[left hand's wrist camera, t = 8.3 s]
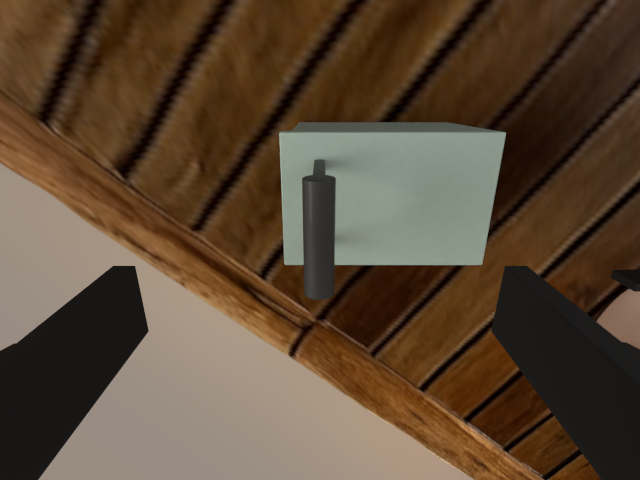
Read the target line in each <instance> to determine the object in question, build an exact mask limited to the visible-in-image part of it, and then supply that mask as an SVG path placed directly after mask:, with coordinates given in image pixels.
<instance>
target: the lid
mask: <svg viewBox="0 0 640 480" xmlns="http://www.w3.org/2000/svg"><path fill="white" fill-rule="evenodd" d="M505 137H506V132H501V131H281V132H280V133H279V139H280V164H281V189H282V214H283V239H284V264H285V265H304V294H305V295H306V296H307V297H308V298H311V299H315V300H323V299H327V298H330V297H331V296H332V295H333V294H334V265H482V263H483V257H484V252H485V246H486V241H487V235H488V230H489V224H490V219H491V213H492V208H493V203H494V197H495V192H496V186H497V181H498V175H499V170H500V164H501V159H502V153H503V148H504V142H505Z"/></svg>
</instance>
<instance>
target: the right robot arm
mask: <svg viewBox="0 0 640 480" xmlns="http://www.w3.org/2000/svg"><path fill="white" fill-rule="evenodd" d="M611 278H613V279H614V280H616V281H618V282H619V283H621V284H623V285H624V286H626V287H628V288H629V289H631V290H633V291H634V292H640V269H637V270H613V272H612V276H611Z"/></svg>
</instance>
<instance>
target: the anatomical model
mask: <svg viewBox="0 0 640 480" xmlns="http://www.w3.org/2000/svg"><path fill="white" fill-rule="evenodd" d="M596 322H597V323H599V324H600V325H601V326H602V327H603V328H605V329H606V330H607V331H608V332H610V333H611V334H612V335H613V336H615V337H616V338H617V339H618V340H620V341H621V342H627V343H628V344H630V345H632V346H634V347H636V348H638V349H640V292H634V291H633V290H631V289H627V290H626V291H625V292H623V293H622V294H621V295H619V296H618V297H617V298H616V299H615V300H614V301H613V302H612V303H611V304H610V305H609V306H608V307H607V308H606V309H605V311H604V312H603V313H602V314H601V316H600V317H599V318H598V320H597V321H596Z"/></svg>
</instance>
